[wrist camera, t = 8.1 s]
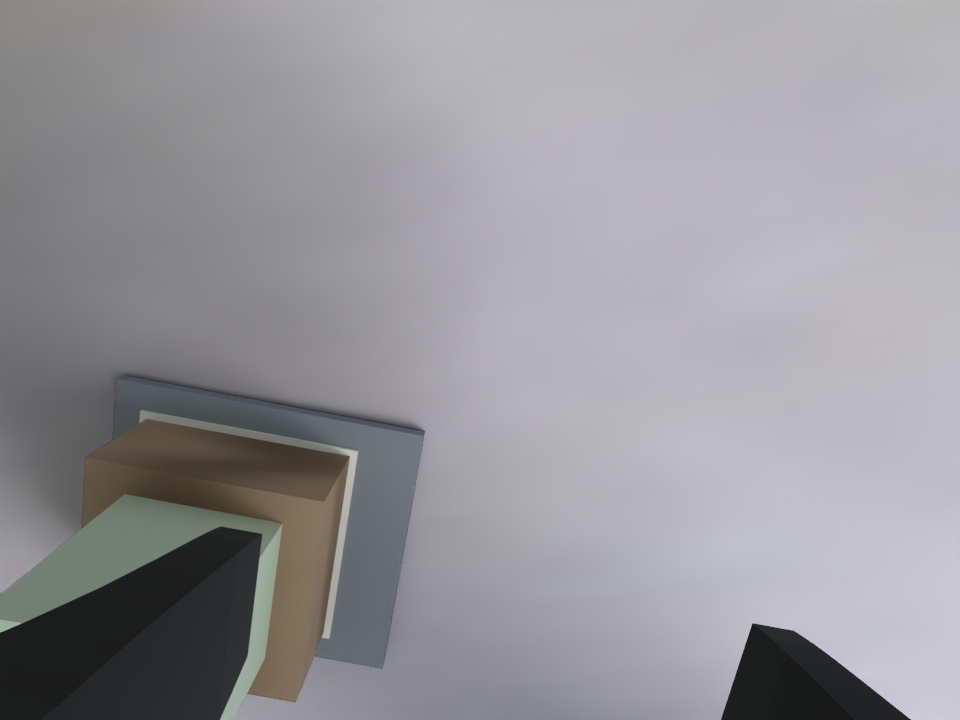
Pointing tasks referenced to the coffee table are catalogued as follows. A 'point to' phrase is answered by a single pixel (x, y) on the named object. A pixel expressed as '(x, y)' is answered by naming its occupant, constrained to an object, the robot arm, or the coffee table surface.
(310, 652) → the walnut block
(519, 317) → the coffee table surface
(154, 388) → the mat
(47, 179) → the coffee table surface
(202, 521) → the sage block
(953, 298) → the coffee table surface
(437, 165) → the coffee table surface
